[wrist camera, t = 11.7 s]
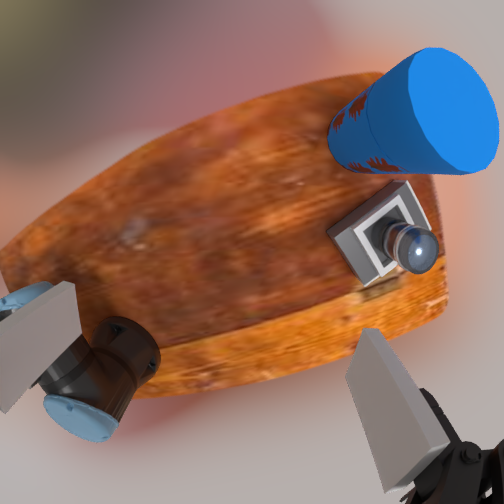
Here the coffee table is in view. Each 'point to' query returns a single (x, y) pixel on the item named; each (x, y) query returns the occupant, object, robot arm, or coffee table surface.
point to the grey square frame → (363, 221)
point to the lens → (406, 244)
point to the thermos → (419, 120)
